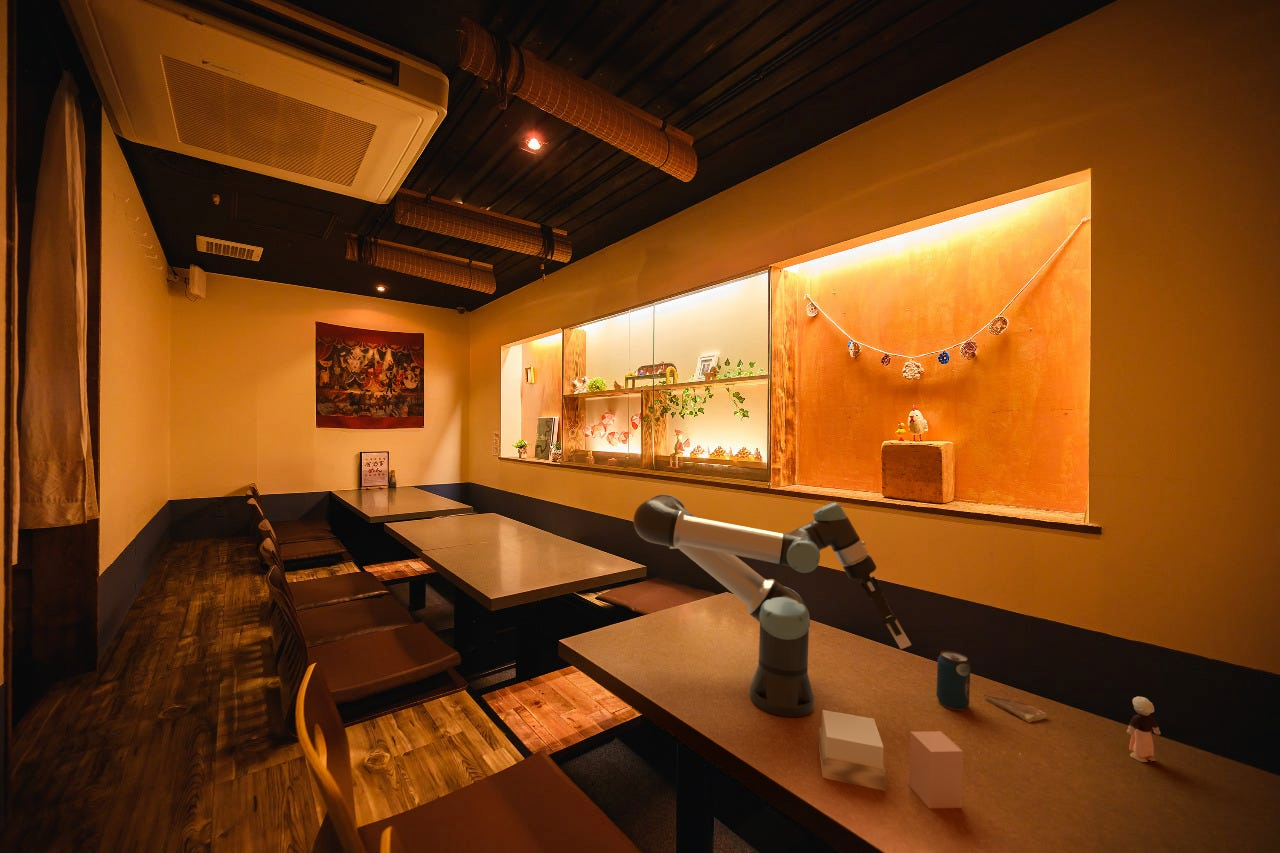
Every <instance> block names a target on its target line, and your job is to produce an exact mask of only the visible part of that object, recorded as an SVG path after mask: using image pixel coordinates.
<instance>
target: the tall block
mask: <svg viewBox="0 0 1280 853" xmlns="http://www.w3.org/2000/svg"><path fill="white" fill-rule="evenodd" d="M909 736H910V738H909V739H910V740H909V762H908V764H909V766H908V771H909V772H908V785H909V787H910V788H911V789H912V790H913V792H915V794H916V795H917V796H918V797H919V798H920V799H921V801H922V802H923V803H924V804H925V805H926V806H927V807H928V809H962V805H963V804H962V799H963V798H962V797H963V796H962V794H963V772H964V771H963V767H964V766H963V765H964V764H963V763H964V762H963V761H964V751H963V750H962V749H961V748H960V747H959V746H958V745H957V744H956V743H954V742H953V741H952V740H951V739H950V738H949V737H948V736H946V734H944V733H943V732H942V731H939V730H938V731H937V730H936V731H933V730H930V731H910V733H909Z"/></svg>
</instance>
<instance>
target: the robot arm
mask: <svg viewBox="0 0 1280 853" xmlns="http://www.w3.org/2000/svg"><path fill="white" fill-rule="evenodd" d="M812 516H813V520H812V521H811V522H809V523H807V524H805V525H803V526H800V527H798V528H796V529H794V530H792V531H790V532H786V533H781V532H777V531H776V532H775V531H772V530H771V531H770V530H765V529H761V528H755V527H749V526H744V525H738V524H734V523H728V522H724V521H723V522H722V521H717V520H712V519H706V518H701V517H695V515H693V514H692V513H691V512H690V511H688V510H687V509H686V508H685V505H684V504H683V502H682V501H681V500H680V499H679V498H677V497H675V496H673V495H671V494H670V495H669V494H659V495H656V496H653V497H652V498H650V499H648V500H645V501H644V502H642V503H641V504H640V505H639V506H638V507H637V509H635V512H634V516H633V527H634V529H635V532H636V533H637V535H639V536H638V537H640V538H641V539H643V540H644V541H646V542H648V543H651V544H656V545H662V546H666V547H667V548H669V550H671V549H672V550H673V549H679V551H680V552H682V553H683V554H684V555H686V556H687V557H688V558H689V559H690V560H692V561H693V562H694V563H696V564H697V566H699V567H700V568H701V569H702V570H704V571H705V572H707V573H708V575H710V576H711V577H713V579H715V580H716V581H717V582H718V583H720V584H721V585H722V586H723V587H725V588H726V589H727V590H728V591H729V592H731V593H732V594H733V595H734V596H735V597H736V598H738V599H739V600H740V601H742V603H744V604H745V605H746V608H747V614H749V615H750V616H751V617H753V618H754V619H755V620H757V622H759V639H758V640H759V641H758V666H757V668H756V669H755V670H756V671H755V673H754V675H753V678H752V680H751V683H750V686H749V687H750V690H749V691H750V692H749V697H750V700H751V701H752V703H753V704H754V705H755V706H757V708H759V709H761V710H763V711H764V712H766V713H770V714H772V715H775V716H779V717H783V718H784V717H785V718H801V717H804V716H807V715H809V714H811V713H812V712H813V711H814V708H815V695H814V692H813V687H812V684H811V681H810V676H809V674H808V670H809V669H808V668H809V666H808V665H809V636H810V626H811V619H810V612H809V610H808V608H807V606H806V604H805V601H804V600H803V599H802V597H801V596H800V594H799V593H798V592H796V591H795V590H793V589H791V588H790V587H787V586H783V585H782V584H781V583H779V582H778V581H777V580H775V579H774V578H770V579H769V578H768V579H766V578H764V577H763V576H762V575H760V574H759V573H758V572H757V571H756V570H754V569H753V568H752V567H750V566H749V565H748V564H746V562H744V561H743V560H741V559H740V558H739V557H743V558H748V559H753V560H758V561H762V562H768V563H773V564H777V565H782V566H787V567H791V568H792V569H793V571H794V570H795V571H796V572H798V573H802V574H807V573H811V572H813V571H815V569H816V568H817V567H818V566H819V564H820V561H821V560H820V559H821V554H820V553H821V552H820V551H821V550H824V549H827V548H828V547H831V549H832V552H833V553H834V555H835V557H836V558H837V560H838V562H839V563H840V565H843V570H844V572H845V574H846V575H847V577H848V578H849V579H850V580H852V581H856V580H859V579H861V581H860V582H859V583H860V586H861V587H862V589H863V591H864V592H866V594H867V596H868V599H869V600H871V601H873V602H874V604H875V606H876V607H877V609H878V611H879V614H880V616H882V618H883V619H884V621H882V622H881V623H882V625H883V626H887V628H888V630H889V631H890V634H891V635H892V637H893V638H894V640H895V642H896V644H897V645H898V646H899V649H900V650H903V649H905V648H908V647H910V646H912V643H911V641H910V640H909V638H908V637H907V635H906V633H905V632H904V629H903V628H902V626H901V624H900V623H899V621H898V619H897V617H896V616H895V615H894V612H892V610H891V608H890V607H889V605H888V601H889V600H888V599H887V597H886V596H884V593H883V591H882V588H880V584H879V582H878V580H877V579H876V577H875V576H874V575H873V576H871V574H872V573H874V572H875V571H876V570H877V565H876V563H875V561H874V560H873V558H872V556H871V555H870V554H868V550H867V548H866V547H865V546H866V544H867V543H866V542H865V541H862V540H861V537H860V536H859V534H858V532H857V531H856V529H855V528H854V526H853V524H852V522H851V520H850V518H849V517H848V515H847V513H846V512H845V511H844V509H843V508H842V506H841V504H840V503H837V502H831V503H828V504H826V505H824V506H822V507H820V508H818V509H816V510H815V511H813V513H812Z"/></svg>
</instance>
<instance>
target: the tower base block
mask: <svg viewBox="0 0 1280 853" xmlns="http://www.w3.org/2000/svg"><path fill="white" fill-rule="evenodd" d="M818 750H819V751H818V752H819V759H820V767H821V778H822V779H827V780H832V781H836V782H841V783H846V784H851V785H856V786H861V787H866V788H869V789H870V788H871V789H874V790H879V791H884V792H885V791H886V787H887V786H886V785H887V782H886V781H887V770H886V768H885V765H884V762H883V769H880V768H875V767H870V766H865V765H860V764H855V763H850V762H845V761H840V760H835V759H830V758H826V754H825V747H824V741H823V734H822V727H818Z"/></svg>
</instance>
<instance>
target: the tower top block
mask: <svg viewBox="0 0 1280 853" xmlns="http://www.w3.org/2000/svg"><path fill="white" fill-rule="evenodd" d="M821 717H822V718H821V728H822V734H823V741H824V747H825V754H826V758H830V759H835V760H840V761H845V762H850V763H855V764H860V765H865V766H870V767H875V768H880V769H883V763H884V750H885V749H884V744H883V741H882V739H881V735H880V733H879V730H878V727H877V724H876V721H875V718H871V717H866V716H865V717H864V716H859V715H855V714H849V713H843V712H838V711H831V710H826V709H822V714H821Z"/></svg>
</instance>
